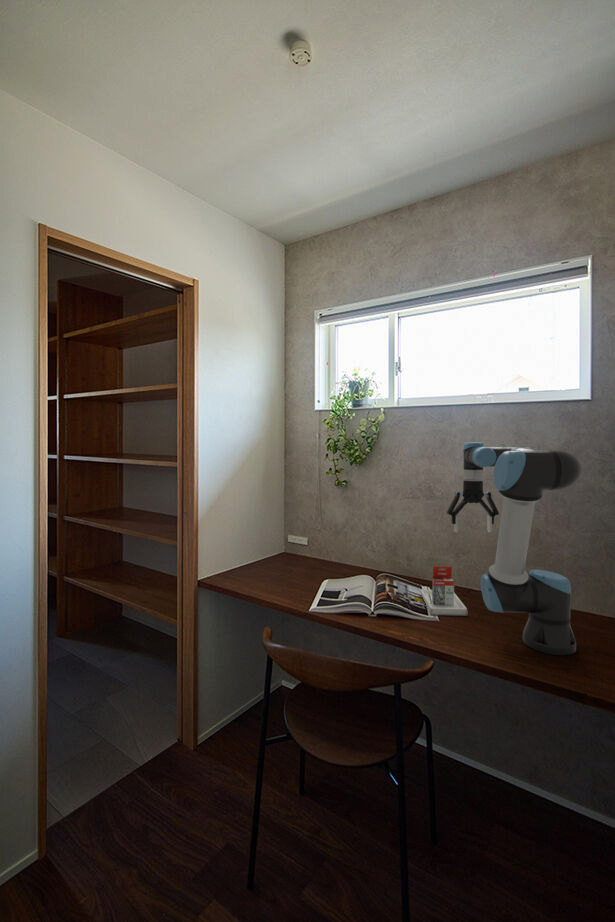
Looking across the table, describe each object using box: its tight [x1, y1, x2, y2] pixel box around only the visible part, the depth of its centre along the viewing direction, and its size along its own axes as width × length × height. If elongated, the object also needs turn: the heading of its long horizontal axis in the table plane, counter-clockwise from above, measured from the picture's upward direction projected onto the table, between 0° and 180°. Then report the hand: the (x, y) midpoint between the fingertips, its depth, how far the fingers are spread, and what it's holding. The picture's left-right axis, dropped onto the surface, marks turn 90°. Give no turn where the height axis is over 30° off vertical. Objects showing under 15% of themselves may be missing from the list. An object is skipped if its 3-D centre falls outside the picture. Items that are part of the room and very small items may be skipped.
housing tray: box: [419, 589, 469, 617], centre depth 175 cm, size 22×14×2 cm, turn 176°
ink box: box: [431, 566, 455, 605], centre depth 174 cm, size 4×8×15 cm, turn 85°
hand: (472, 532), depth 177 cm, fingers open, 13 cm apart
